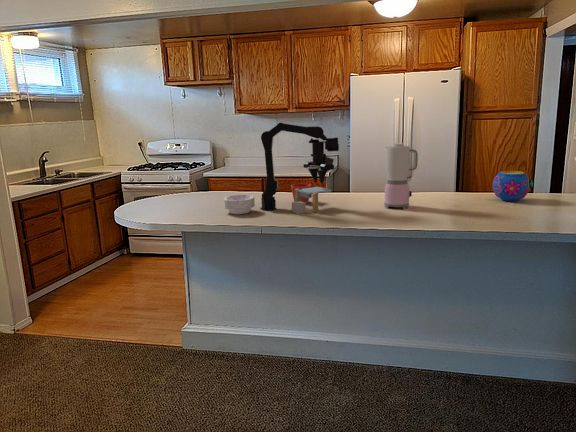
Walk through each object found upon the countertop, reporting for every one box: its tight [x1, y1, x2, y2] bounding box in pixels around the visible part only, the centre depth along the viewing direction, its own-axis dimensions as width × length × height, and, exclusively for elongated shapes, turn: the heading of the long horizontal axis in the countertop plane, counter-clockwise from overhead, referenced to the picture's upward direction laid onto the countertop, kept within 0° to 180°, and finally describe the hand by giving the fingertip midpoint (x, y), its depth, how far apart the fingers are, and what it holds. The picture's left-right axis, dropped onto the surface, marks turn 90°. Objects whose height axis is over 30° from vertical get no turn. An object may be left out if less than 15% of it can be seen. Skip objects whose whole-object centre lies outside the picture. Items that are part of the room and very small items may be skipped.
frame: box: [295, 188, 319, 214], centre depth 223 cm, size 2×17×10 cm, turn 34°
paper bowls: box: [223, 194, 256, 215], centre depth 222 cm, size 15×15×8 cm
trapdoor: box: [298, 186, 333, 199], centre depth 224 cm, size 13×12×3 cm
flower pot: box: [290, 183, 312, 204], centre depth 242 cm, size 11×11×10 cm
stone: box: [291, 201, 307, 215], centre depth 219 cm, size 5×5×5 cm
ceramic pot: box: [492, 170, 534, 202], centre depth 231 cm, size 18×18×15 cm
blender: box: [383, 142, 419, 210], centre depth 221 cm, size 16×12×32 cm
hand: (318, 182), depth 225 cm, fingers open, 4 cm apart
